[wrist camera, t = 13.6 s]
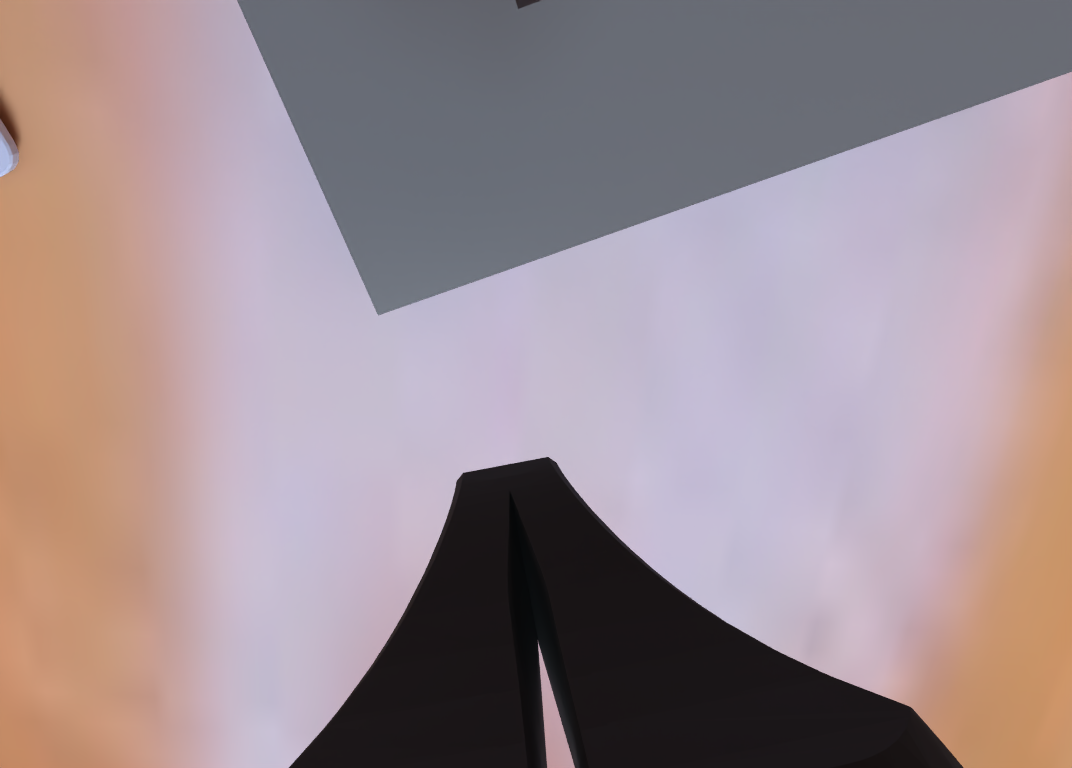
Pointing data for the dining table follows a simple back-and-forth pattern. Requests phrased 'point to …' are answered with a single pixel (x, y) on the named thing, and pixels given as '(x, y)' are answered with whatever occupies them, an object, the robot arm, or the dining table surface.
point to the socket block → (606, 108)
